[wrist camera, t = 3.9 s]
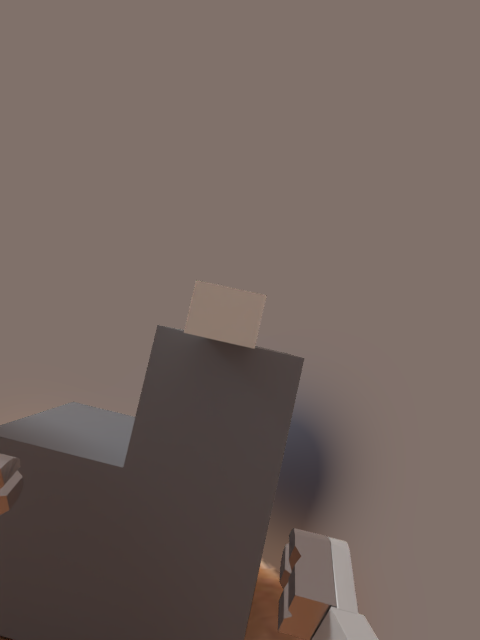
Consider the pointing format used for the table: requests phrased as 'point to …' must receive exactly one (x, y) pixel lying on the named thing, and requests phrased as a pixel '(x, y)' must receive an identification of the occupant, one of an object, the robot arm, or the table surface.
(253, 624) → the table surface
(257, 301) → the beige rectangular post
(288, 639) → the table surface
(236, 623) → the grey l-shaped step block
